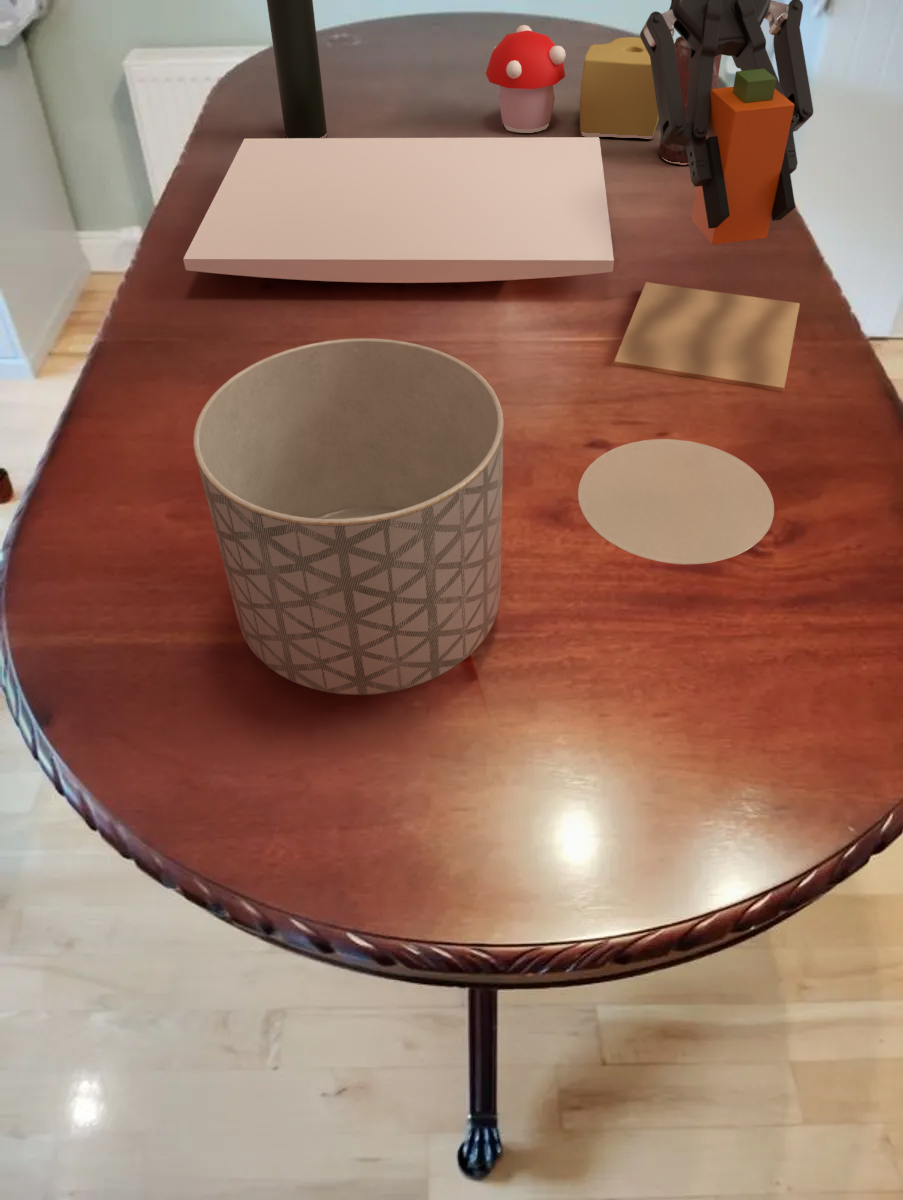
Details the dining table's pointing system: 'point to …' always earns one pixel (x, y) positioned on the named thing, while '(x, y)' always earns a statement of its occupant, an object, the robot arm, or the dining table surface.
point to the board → (408, 210)
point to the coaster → (710, 336)
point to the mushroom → (526, 77)
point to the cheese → (618, 89)
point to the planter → (357, 510)
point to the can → (684, 95)
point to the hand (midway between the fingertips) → (751, 217)
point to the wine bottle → (297, 67)
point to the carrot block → (747, 154)
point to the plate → (675, 501)
